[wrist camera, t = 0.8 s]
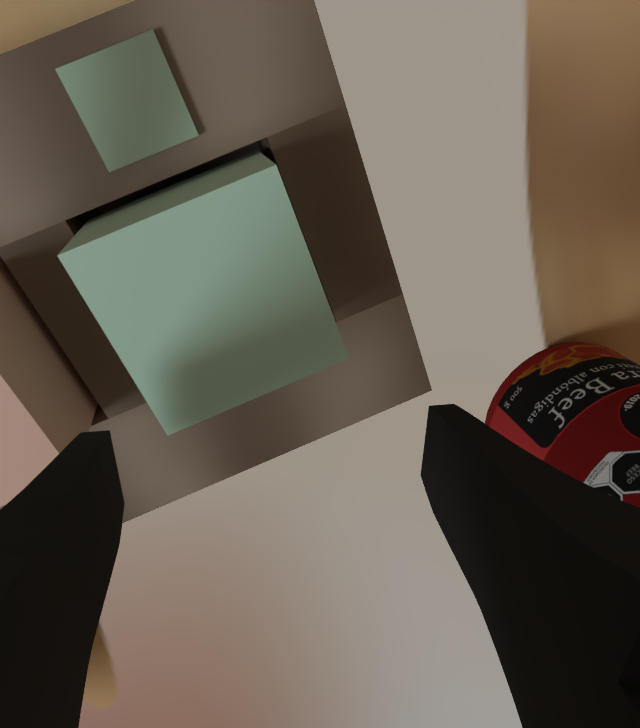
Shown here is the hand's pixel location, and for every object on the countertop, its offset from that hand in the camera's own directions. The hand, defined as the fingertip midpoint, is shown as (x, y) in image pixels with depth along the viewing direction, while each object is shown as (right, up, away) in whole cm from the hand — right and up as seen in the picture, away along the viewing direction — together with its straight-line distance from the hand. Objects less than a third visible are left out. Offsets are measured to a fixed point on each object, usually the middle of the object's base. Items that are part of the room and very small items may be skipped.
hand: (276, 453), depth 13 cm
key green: (-2, +5, +4) cm, 7 cm away
